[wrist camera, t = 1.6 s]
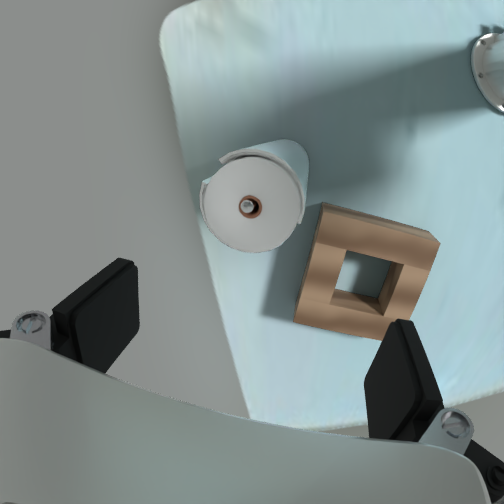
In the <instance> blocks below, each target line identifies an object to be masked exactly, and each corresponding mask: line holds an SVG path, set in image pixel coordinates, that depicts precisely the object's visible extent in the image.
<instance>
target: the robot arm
mask: <svg viewBox="0 0 504 504" xmlns="http://www.w3.org/2000/svg"><path fill="white" fill-rule="evenodd" d="M471 67H472V71H473V75H474V78H475V81H476V83H477V85H478V87H479V89H480V91H481V92H482V94H483V95H484V97H485V98H486V99H487V101H488V102H489V103H490V104H491V105H492V106H494V107H495V108H496V109H498V110H499V111H501V112H503V113H504V32H503V34H497V33H489V34H486V35H483V36H482V37H480V38H479V39H478V40H477V41H476V42H475V44H474V46H473V49H472V52H471ZM52 311H53V315H51V316H50V317H49V316H48V315H47V314H46V313H44V312H41V311H27V312H25V313H22V314H20V315H19V316H17V317H16V318H15V320H14V321H13V323H12V327H11V330H5V331H0V504H504V463H503V462H502V461H501V460H500V459H498V458H497V457H495V456H494V455H493V454H491V453H490V452H488V451H487V450H486V449H484V448H483V447H482V446H480V445H479V444H477V443H476V442H475V441H473V440H472V439H471V438H472V436H473V433H474V426H473V423H472V421H471V420H470V418H469V417H468V416H467V415H466V414H465V413H464V412H462V411H460V410H458V409H455V408H444V405H443V402H442V401H443V399H442V396H441V394H440V391H439V388H438V385H437V382H436V379H435V377H434V374H433V371H432V368H431V366H430V363H429V361H428V358H427V355H426V353H425V350H424V348H423V345H422V343H421V340H420V338H419V335H418V333H417V331H416V328H415V326H414V323H413V322H412V321H410V320H404V319H396V320H395V322H391V323H390V324H389V326H388V329H387V331H386V333H385V336H384V338H383V340H382V343H381V345H380V347H379V349H378V351H377V354H376V356H375V358H374V360H373V362H372V364H371V366H370V368H369V370H368V372H367V374H366V377H365V380H364V390H365V399H366V408H367V418H368V428H369V438H364V437H354V436H346V435H338V434H330V433H323V432H316V431H309V430H303V429H297V428H292V427H286V426H281V425H276V424H271V423H266V422H261V421H257V420H252V419H248V418H243V417H239V416H235V415H231V414H226V413H223V412H219V411H215V410H212V409H208V408H204V407H201V406H197V405H194V404H190V403H187V402H183V401H181V400H177V399H174V398H171V397H168V396H165V395H161V394H159V393H156V392H153V391H150V390H147V389H144V388H141V387H138V386H136V385H133V384H130V383H128V382H125V381H122V380H120V379H117V378H115V377H112V376H110V375H107V374H105V373H106V372H107V370H108V369H109V368H110V366H111V365H112V364H113V363H114V361H115V360H116V359H117V358H118V356H119V355H120V354H121V352H122V351H123V350H124V349H125V348H126V346H127V345H128V344H129V343H130V341H131V340H132V339H133V338H134V336H135V335H136V334H137V332H138V330H139V324H140V322H139V300H138V268H137V266H135V265H134V262H133V261H130V260H126V259H122V258H117V259H116V260H115V261H114V262H112V263H111V264H109V265H108V266H107V267H105V268H104V269H103V270H101V271H100V272H99V273H97V274H96V275H95V276H94V277H92V278H91V279H89V280H88V281H87V282H85V283H84V284H83V285H82V286H80V287H79V288H78V289H77V290H75V291H74V292H73V293H71V294H70V295H69V296H68V297H66V298H65V299H64V300H63V301H61V302H60V303H59V304H58V305H56V306H55V307H54V308H53V309H52Z"/></svg>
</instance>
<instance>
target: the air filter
mask: <svg viewBox="0 0 504 504" xmlns="http://www.w3.org/2000/svg"><path fill="white" fill-rule="evenodd" d="M218 160H219V161H220V163H221V164H224V163H227V162H228V163H227V164H226V165H225V166H223V167H221V168H220V169H219V170H218V171H217V172H216V173H215V174H214V175H213V176H211V177H209V178H207V179H205V180H203V181H202V184H201V189H200V193H199V198H200V209H201V213H202V216H203V219H204V221H205V223H206V225H207V226H208V228H209V230H210V231H211V232H212V233H213V234H214V235H215V237H216V238H217V239H218V240H219V241H221V242H222V243H224V244H226V245H227V246H229V247H231V248H233V249H236V250H239V251H242V252H249V253H260V252H265V251H271V250H273V249H275V248H277V247H279V246H281V245H283V242H284V241H285V240H287V239H288V238H289V236H290V235H291V233H292V232H293V230H294V229H295V227H296V224H297V223H298V224H300V225H301V222H302V219H303V216H304V213H305V204H306V194H307V184H308V173H309V159H308V155H307V153H306V151H305V149H304V148H303V147H302V146H301V145H300V144H298V143H297V142H295V141H292V140H289V139H280V140H275V141H271V142H267V143H263V144H259V145H255V146H251V147H247V148H243V149H239V150H236V151H232V152H229V153H227V154H226V155H224V156H222V157H221V158H219V159H218Z"/></svg>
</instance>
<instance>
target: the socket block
mask: <svg viewBox="0 0 504 504" xmlns="http://www.w3.org/2000/svg"><path fill="white" fill-rule="evenodd" d="M439 246H440V242H439V241H438V240H437V239H436V238H435V237H434V236H433V235H432V234H431V233H430V232H429V231H426V230H423V229H419V228H416V227H413V226H409V225H406V224H402V223H399V222H395V221H392V220H388V219H384V218H381V217H377V216H374V215H370V214H366V213H362V212H359V211H355V210H351V209H347V208H343V207H339V206H335V205H331V204H327V203H323V202H322V206H321V210H320V214H319V218H318V222H317V226H316V230H315V234H314V238H313V242H312V246H311V249H310V253H309V257H308V261H307V264H306V268H305V272H304V276H303V279H302V283H301V286H300V290H299V293H298V297H297V300H296V304H295V312H294V320H293V322H295V323H299V324H304V325H308V326H313V327H317V328H322V329H326V330H331V331H336V332H341V333H345V334H350V335H355V336H360V337H365V338H370V339H375V340H381V341H382V340H383V338H384V336H385V333H386V331H387V329H388V326H389V324H390V323H391V322H395V320H396V319H404V320H409V319H410V317H411V314H412V312H413V310H414V308H415V306H416V303H417V301H418V299H419V296H420V294H421V292H422V289H423V287H424V285H425V282H426V280H427V277H428V275H429V272H430V270H431V267H432V265H433V262H434V259H435V257H436V254H437V251H438V249H439ZM347 250H349V251H353V252H357V253H361V254H365V255H369V256H373V257H377V258H381V259H385V260H389V261H392V262H391V265H390V268H389V271H388V273H387V276H386V279H385V282H384V284H383V287H382V289H381V292H380V295H379V297H378V299H377V298H373V297H369V296H364V295H360V294H355V293H351V292H347V291H342V290H338V289H335V286H336V283H337V279H338V276H339V273H340V270H341V267H342V264H343V260H344V257H345V254H346V251H347Z"/></svg>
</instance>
